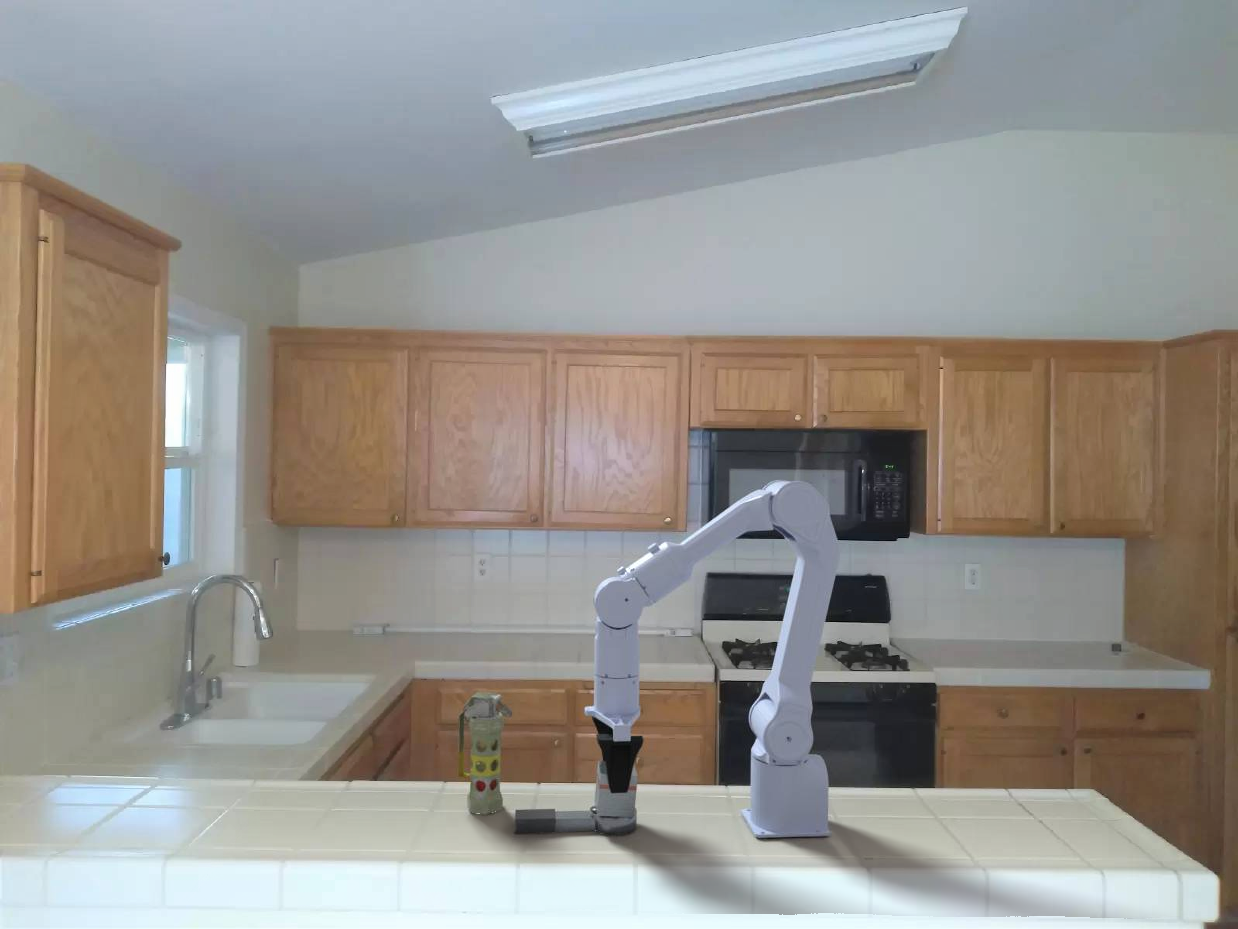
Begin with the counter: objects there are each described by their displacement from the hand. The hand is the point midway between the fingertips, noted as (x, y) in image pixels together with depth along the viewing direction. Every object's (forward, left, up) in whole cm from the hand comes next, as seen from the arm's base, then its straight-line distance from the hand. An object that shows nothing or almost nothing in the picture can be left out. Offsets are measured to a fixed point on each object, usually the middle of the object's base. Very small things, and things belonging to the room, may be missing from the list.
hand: (615, 780), depth 109 cm
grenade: (+17, -8, -6) cm, 20 cm away
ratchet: (+5, 0, -6) cm, 8 cm away
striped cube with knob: (0, 0, -4) cm, 4 cm away
